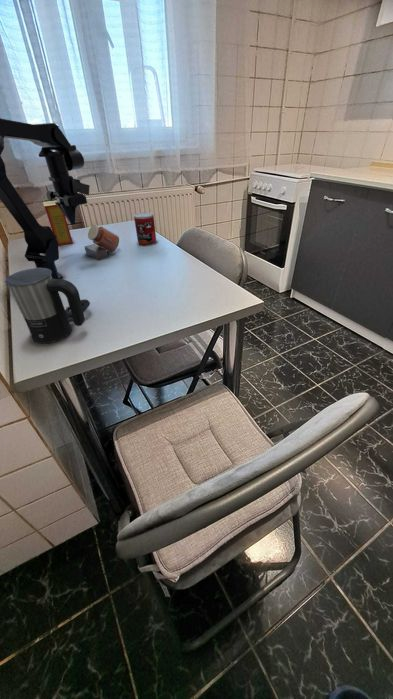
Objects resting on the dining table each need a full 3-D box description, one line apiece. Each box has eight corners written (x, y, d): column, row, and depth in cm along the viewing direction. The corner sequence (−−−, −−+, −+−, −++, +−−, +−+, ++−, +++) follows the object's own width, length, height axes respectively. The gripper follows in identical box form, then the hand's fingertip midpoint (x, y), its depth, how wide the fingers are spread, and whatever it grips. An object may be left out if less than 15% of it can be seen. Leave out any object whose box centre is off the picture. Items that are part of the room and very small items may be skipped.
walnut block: (108, 257, 112) (106, 249, 110) (98, 260, 110) (96, 252, 108) (95, 251, 118) (93, 243, 116) (86, 254, 116) (84, 246, 114)
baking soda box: (73, 243, 128) (61, 203, 118) (57, 246, 125) (44, 205, 116) (70, 237, 134) (59, 199, 125) (55, 240, 132) (42, 201, 123)
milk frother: (27, 347, 67) (-2, 287, 58) (38, 314, 79) (15, 260, 70) (92, 336, 69) (74, 277, 60) (92, 305, 82) (77, 252, 73)
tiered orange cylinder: (126, 251, 116) (120, 222, 110) (100, 259, 110) (92, 229, 104) (115, 246, 121) (109, 218, 115) (90, 254, 115) (82, 225, 109)
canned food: (135, 245, 123) (130, 216, 116) (143, 239, 129) (139, 212, 122) (151, 246, 121) (148, 217, 114) (159, 240, 127) (156, 212, 120)
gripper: (96, 171, 92) (106, 223, 102) (70, 168, 104) (82, 215, 113) (61, 176, 87) (76, 231, 96) (38, 172, 98) (54, 221, 107)
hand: (73, 224), depth 103 cm, fingers closed
